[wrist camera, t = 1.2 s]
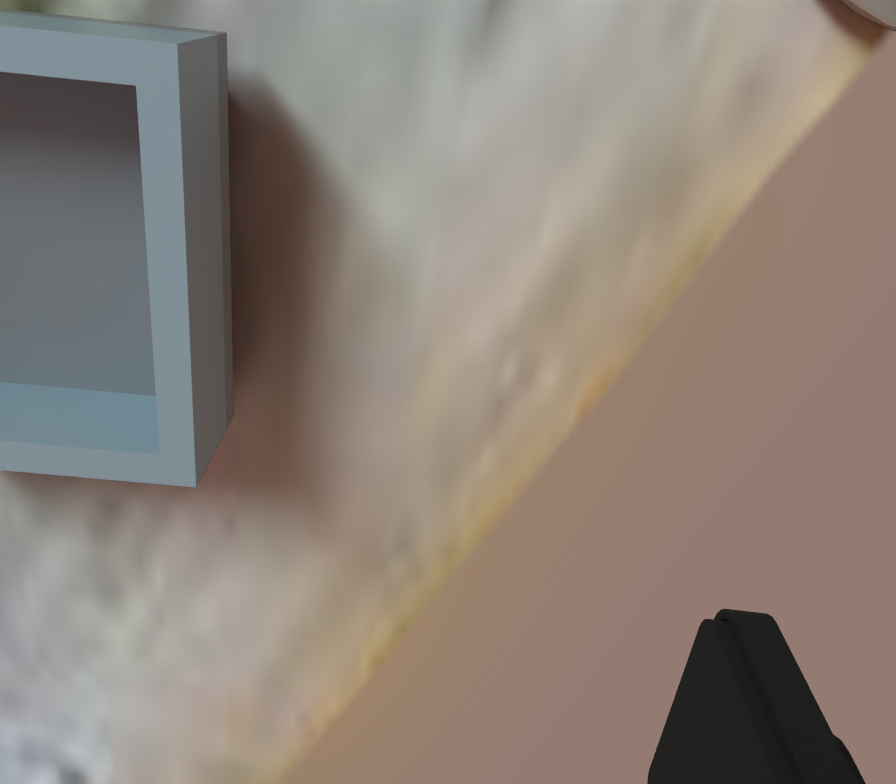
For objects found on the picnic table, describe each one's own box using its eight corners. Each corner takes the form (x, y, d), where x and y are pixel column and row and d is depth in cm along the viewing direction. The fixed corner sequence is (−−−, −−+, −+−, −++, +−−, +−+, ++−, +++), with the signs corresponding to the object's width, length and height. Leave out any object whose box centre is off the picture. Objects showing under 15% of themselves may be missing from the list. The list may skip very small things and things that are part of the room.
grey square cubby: (239, 29, 24) (177, 43, 19) (244, 395, 30) (196, 487, 24) (-179, -15, 24) (-363, -13, 19) (-100, 364, 29) (-225, 450, 24)
